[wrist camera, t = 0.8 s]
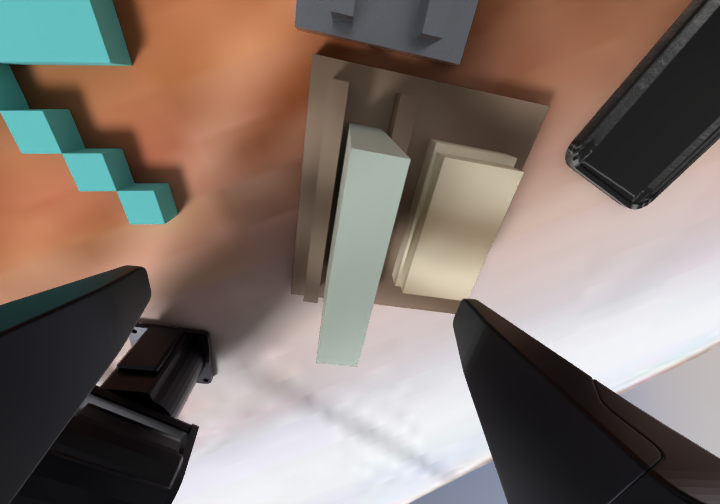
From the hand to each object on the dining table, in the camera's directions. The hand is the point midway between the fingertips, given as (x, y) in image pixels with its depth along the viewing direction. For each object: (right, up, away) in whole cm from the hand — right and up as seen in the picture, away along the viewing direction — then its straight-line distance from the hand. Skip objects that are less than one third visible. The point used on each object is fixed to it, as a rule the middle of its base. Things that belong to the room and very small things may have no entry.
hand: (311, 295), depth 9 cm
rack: (+4, +4, +13) cm, 14 cm away
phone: (+22, +12, +10) cm, 27 cm away
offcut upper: (+7, +3, +11) cm, 13 cm away
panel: (+1, +4, +11) cm, 12 cm away
